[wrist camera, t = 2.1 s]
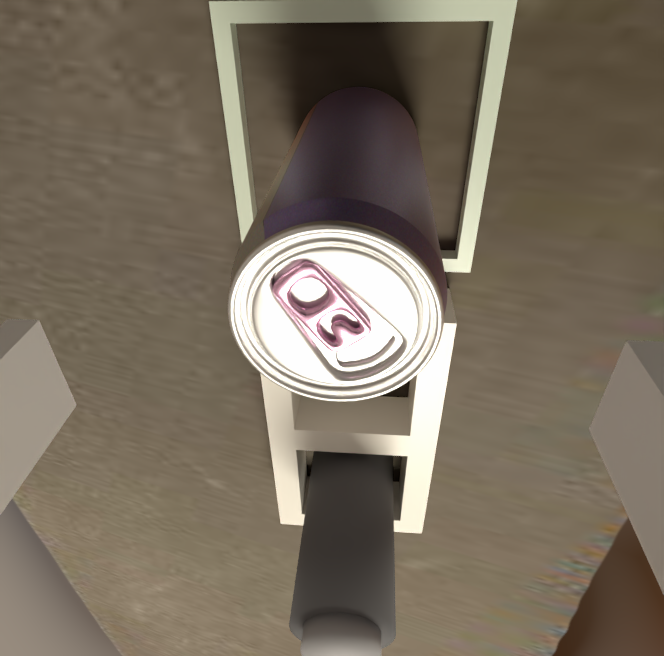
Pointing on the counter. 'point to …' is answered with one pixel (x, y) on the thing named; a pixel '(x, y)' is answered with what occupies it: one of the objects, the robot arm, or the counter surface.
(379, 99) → the beverage can
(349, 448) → the white divided tray
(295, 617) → the single round plug
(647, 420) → the robot arm
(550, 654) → the counter surface
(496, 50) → the rectangular frame
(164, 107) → the counter surface
